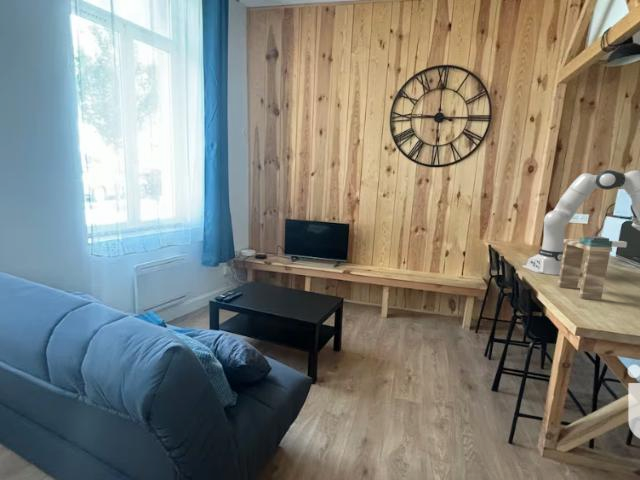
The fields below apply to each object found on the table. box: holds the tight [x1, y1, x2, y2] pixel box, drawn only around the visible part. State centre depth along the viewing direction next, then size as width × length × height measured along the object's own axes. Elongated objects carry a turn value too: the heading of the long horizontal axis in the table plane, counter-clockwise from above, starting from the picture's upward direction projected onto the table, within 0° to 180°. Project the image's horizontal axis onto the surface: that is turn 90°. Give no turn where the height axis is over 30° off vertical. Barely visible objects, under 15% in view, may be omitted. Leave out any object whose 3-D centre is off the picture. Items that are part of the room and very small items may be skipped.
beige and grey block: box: [586, 235, 628, 248], centre depth 171 cm, size 16×5×4 cm, turn 86°
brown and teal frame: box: [557, 236, 613, 301], centre depth 180 cm, size 20×10×29 cm, turn 176°
